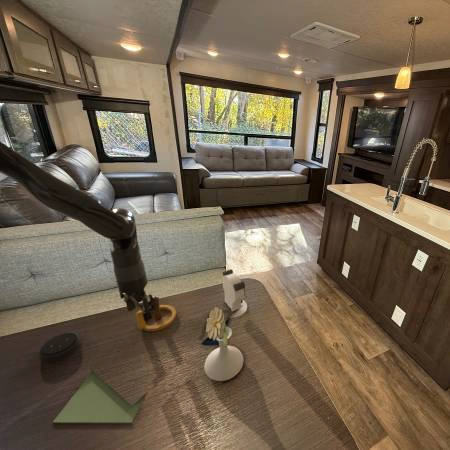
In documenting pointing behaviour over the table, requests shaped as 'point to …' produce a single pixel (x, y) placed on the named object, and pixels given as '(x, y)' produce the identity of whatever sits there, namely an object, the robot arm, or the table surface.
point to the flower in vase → (221, 350)
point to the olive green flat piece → (98, 404)
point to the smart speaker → (59, 347)
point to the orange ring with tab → (155, 328)
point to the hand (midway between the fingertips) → (140, 314)
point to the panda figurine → (234, 293)
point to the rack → (159, 313)
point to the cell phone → (211, 341)
